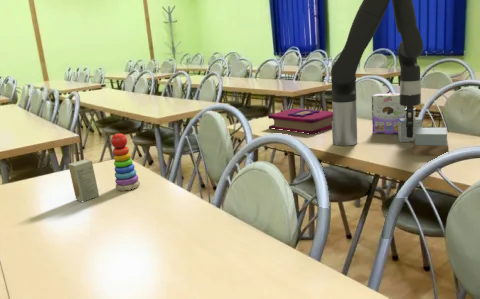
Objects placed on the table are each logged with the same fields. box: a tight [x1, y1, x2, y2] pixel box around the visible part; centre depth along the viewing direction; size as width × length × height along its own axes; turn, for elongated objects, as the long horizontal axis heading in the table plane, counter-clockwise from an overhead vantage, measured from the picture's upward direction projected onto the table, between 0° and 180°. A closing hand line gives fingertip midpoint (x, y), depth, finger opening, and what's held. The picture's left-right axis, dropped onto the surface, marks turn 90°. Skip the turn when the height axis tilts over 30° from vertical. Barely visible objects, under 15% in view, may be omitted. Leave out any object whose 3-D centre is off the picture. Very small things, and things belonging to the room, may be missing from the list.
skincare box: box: [68, 158, 100, 203], centre depth 142 cm, size 6×4×12 cm
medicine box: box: [397, 116, 423, 143], centre depth 173 cm, size 8×4×9 cm, turn 84°
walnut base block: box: [412, 138, 449, 157], centre depth 158 cm, size 11×11×4 cm
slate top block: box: [415, 127, 448, 146], centre depth 157 cm, size 10×10×4 cm
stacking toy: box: [110, 133, 141, 192], centre depth 147 cm, size 8×8×19 cm
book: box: [267, 108, 333, 135], centre depth 214 cm, size 21×28×8 cm
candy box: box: [371, 92, 407, 135], centre depth 187 cm, size 14×6×16 cm, turn 58°
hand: (409, 135), depth 174 cm, fingers open, 6 cm apart
